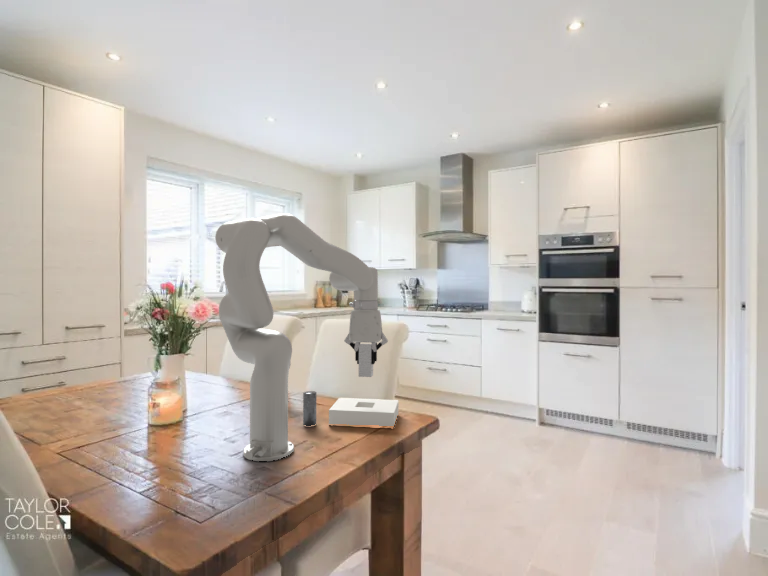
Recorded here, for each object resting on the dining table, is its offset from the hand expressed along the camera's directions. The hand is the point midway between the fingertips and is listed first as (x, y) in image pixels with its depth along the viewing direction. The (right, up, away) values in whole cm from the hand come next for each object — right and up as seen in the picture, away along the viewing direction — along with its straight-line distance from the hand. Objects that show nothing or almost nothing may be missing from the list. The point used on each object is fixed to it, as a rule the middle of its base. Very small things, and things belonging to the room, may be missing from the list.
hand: (366, 362), depth 138 cm
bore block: (0, -18, 0) cm, 18 cm away
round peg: (-17, -18, -5) cm, 26 cm away
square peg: (0, -4, 0) cm, 4 cm away
